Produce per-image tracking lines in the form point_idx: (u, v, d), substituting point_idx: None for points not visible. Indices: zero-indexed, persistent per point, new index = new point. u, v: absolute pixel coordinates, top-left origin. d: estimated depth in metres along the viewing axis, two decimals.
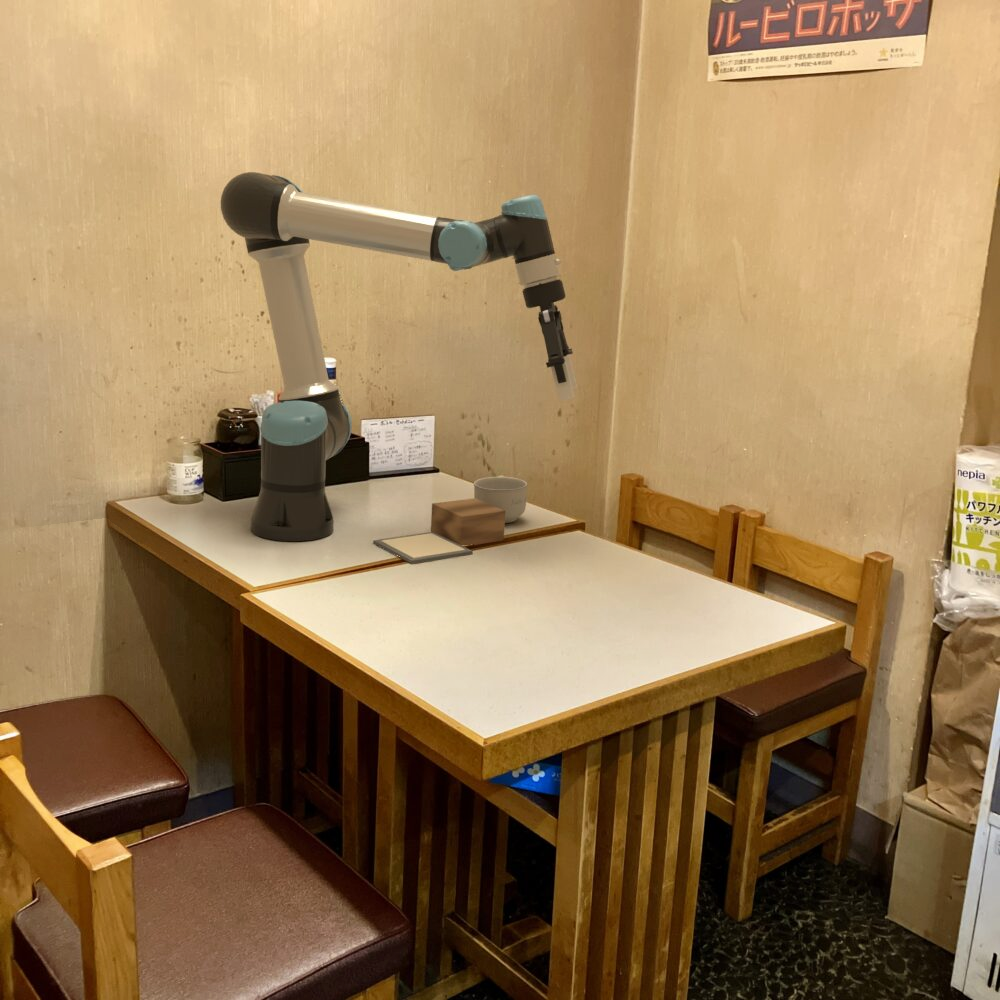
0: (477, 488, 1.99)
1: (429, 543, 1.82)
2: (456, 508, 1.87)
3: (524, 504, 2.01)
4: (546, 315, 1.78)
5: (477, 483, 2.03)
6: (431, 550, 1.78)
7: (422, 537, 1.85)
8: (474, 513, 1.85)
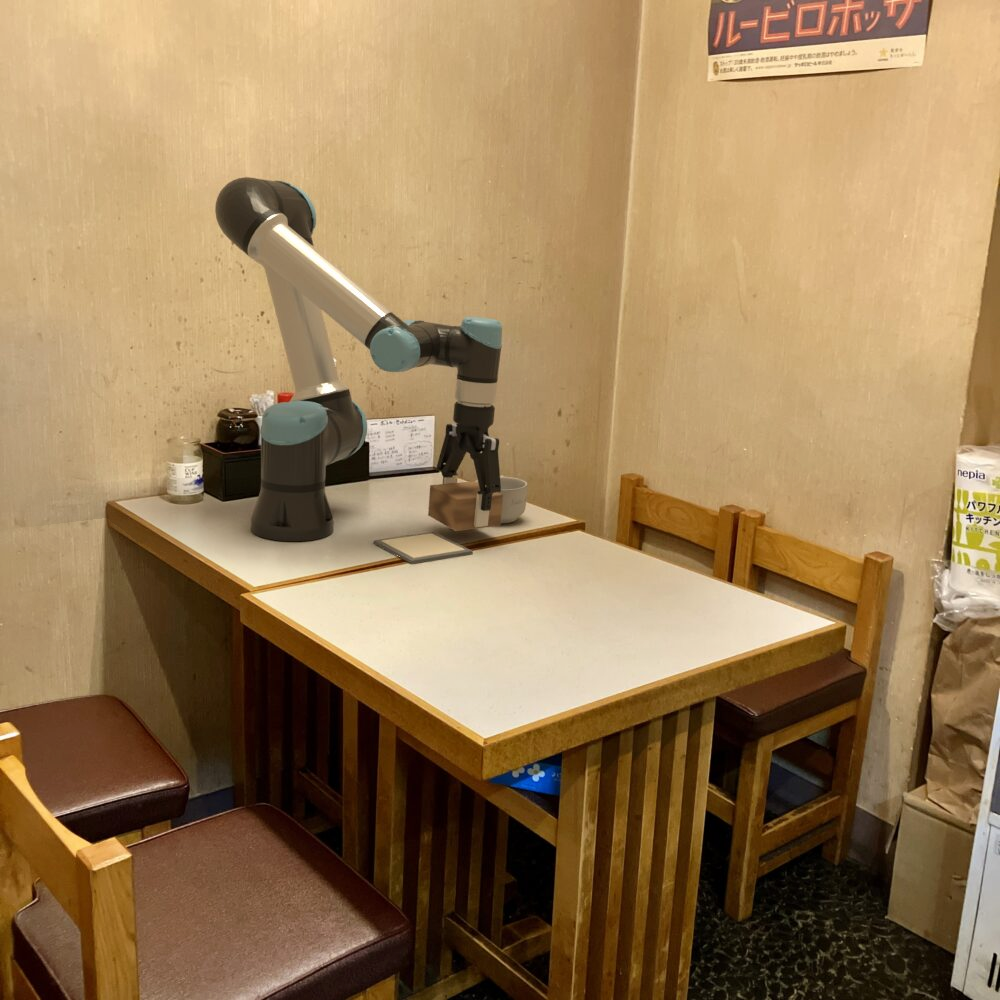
0: None
1: (429, 543, 1.82)
2: (453, 491, 1.87)
3: (524, 504, 2.01)
4: (493, 444, 1.81)
5: None
6: (431, 550, 1.78)
7: (422, 537, 1.85)
8: (470, 497, 1.84)
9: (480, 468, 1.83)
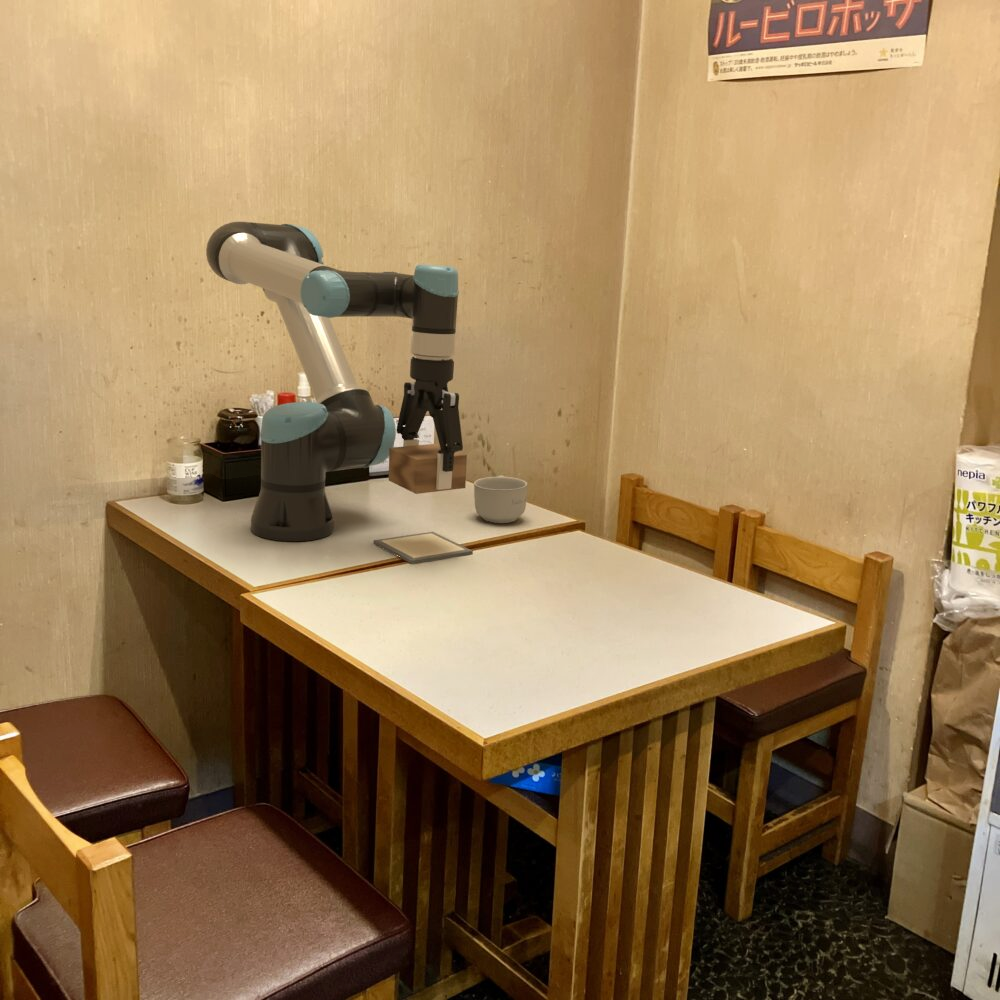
0: (477, 488, 1.99)
1: (429, 543, 1.82)
2: (413, 452, 1.75)
3: (524, 504, 2.01)
4: (453, 399, 1.69)
5: (477, 483, 2.03)
6: (431, 550, 1.78)
7: (422, 537, 1.85)
8: (431, 457, 1.72)
9: (440, 426, 1.71)
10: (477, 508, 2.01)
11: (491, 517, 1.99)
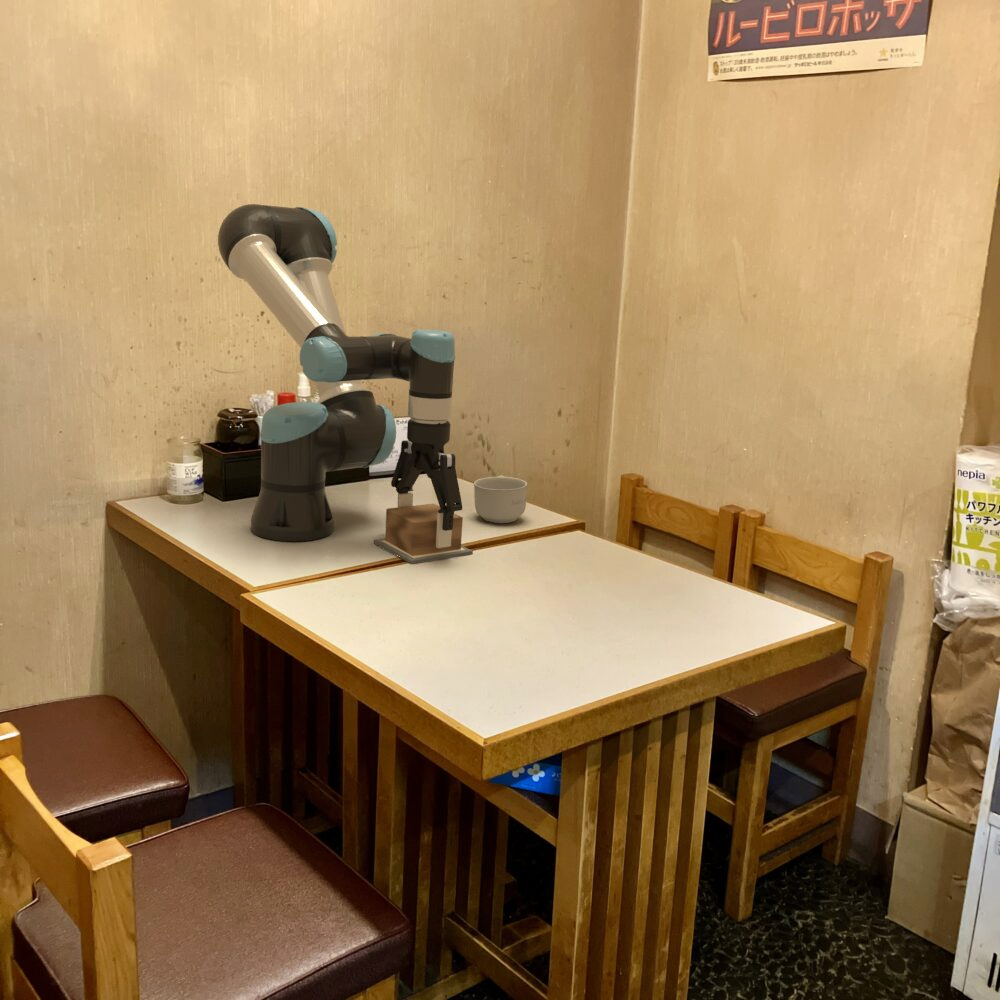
0: (477, 488, 1.99)
1: None
2: (410, 514, 1.78)
3: (524, 504, 2.01)
4: (449, 459, 1.71)
5: (477, 483, 2.03)
6: None
7: None
8: (427, 520, 1.75)
9: (439, 486, 1.73)
10: (477, 508, 2.01)
11: (491, 517, 1.99)
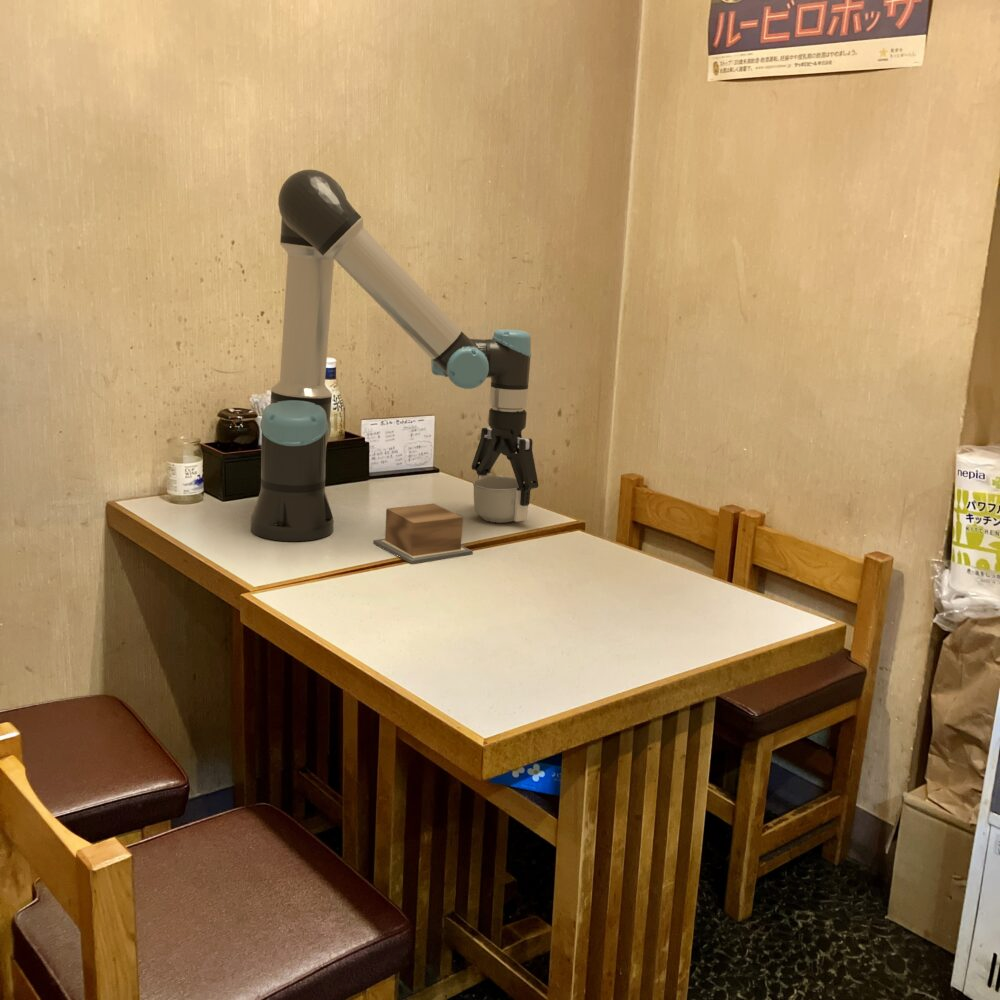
0: (476, 488, 1.99)
1: None
2: (410, 514, 1.78)
3: None
4: (527, 443, 1.95)
5: (476, 483, 2.03)
6: None
7: None
8: (427, 520, 1.75)
9: (517, 467, 1.97)
10: (476, 508, 2.01)
11: (490, 516, 1.99)
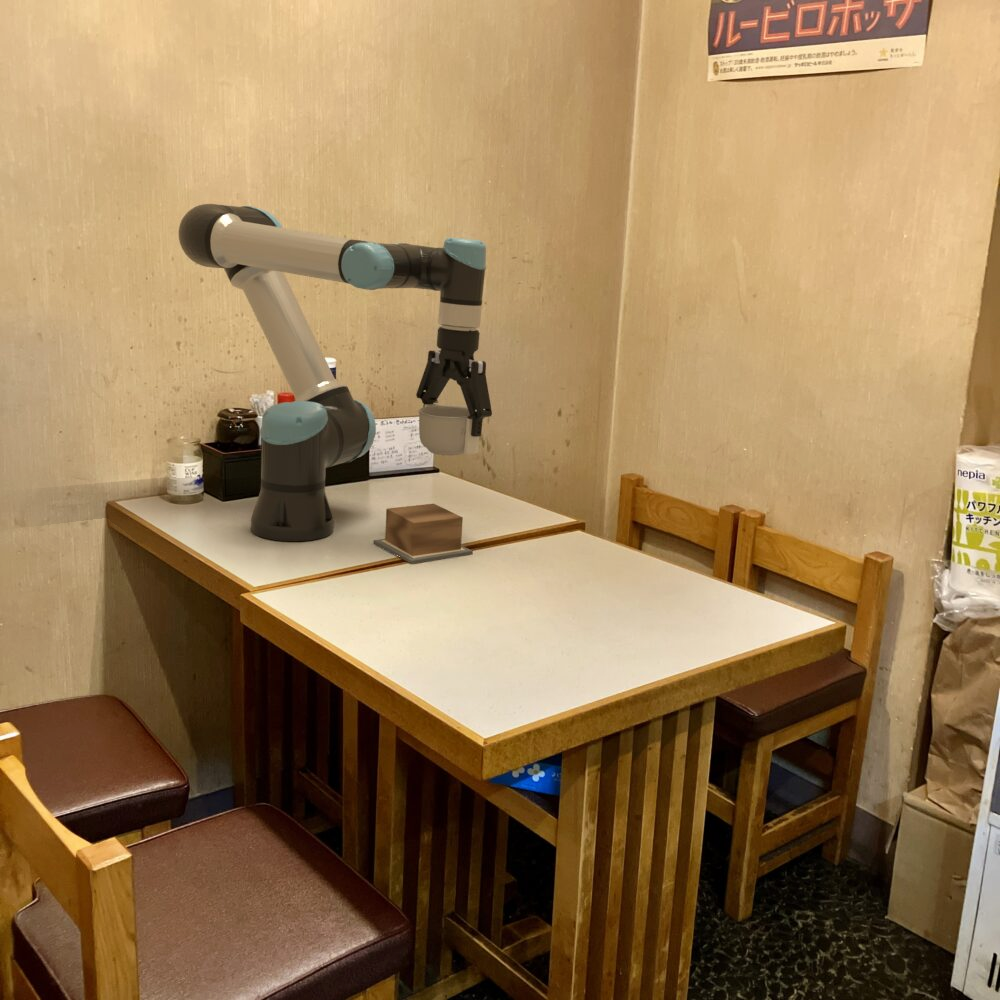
0: (423, 416, 1.78)
1: None
2: (410, 514, 1.78)
3: None
4: (480, 366, 1.75)
5: (422, 411, 1.82)
6: None
7: None
8: (427, 520, 1.75)
9: (468, 393, 1.77)
10: (422, 438, 1.80)
11: (438, 448, 1.78)
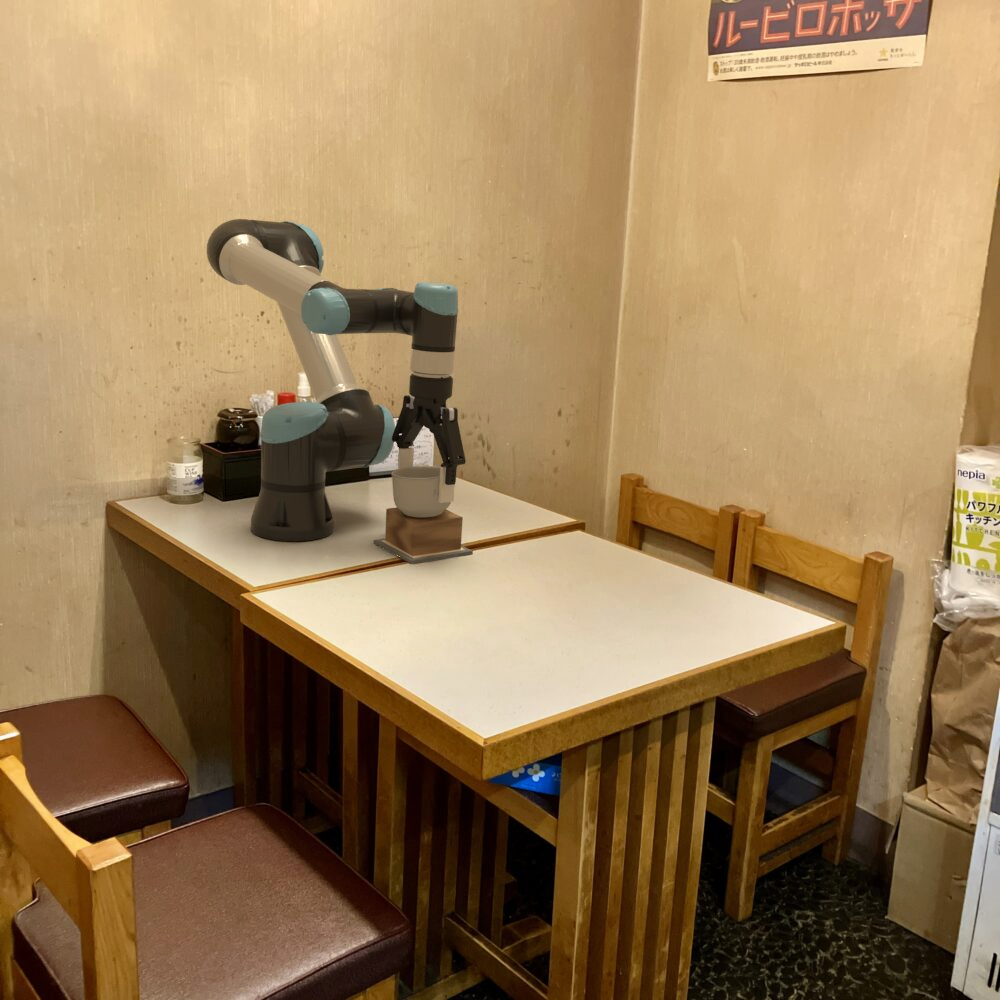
0: (394, 478, 1.74)
1: None
2: None
3: None
4: (451, 413, 1.70)
5: (396, 473, 1.78)
6: None
7: None
8: (427, 520, 1.75)
9: (441, 440, 1.71)
10: (395, 501, 1.75)
11: (411, 510, 1.73)
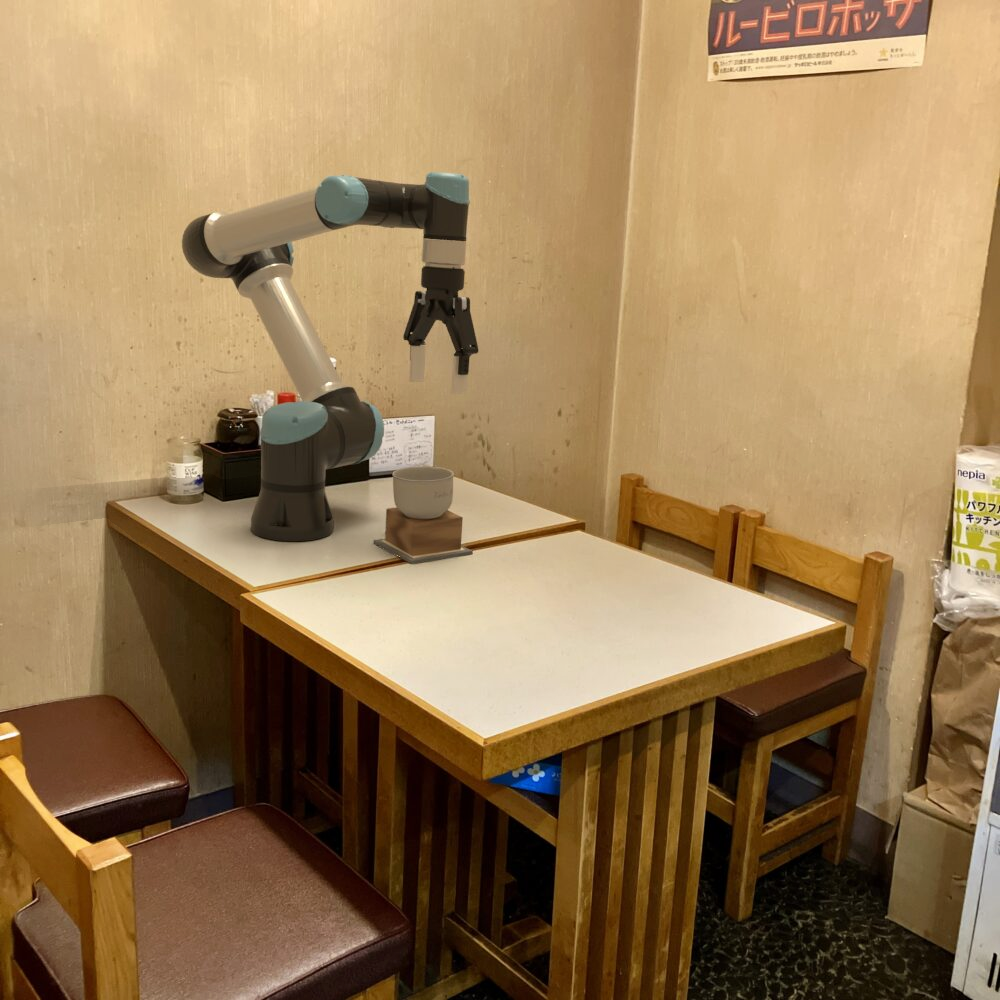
0: (395, 479, 1.74)
1: None
2: None
3: (450, 497, 1.75)
4: (464, 302, 1.70)
5: (397, 473, 1.78)
6: None
7: None
8: (427, 520, 1.75)
9: (454, 330, 1.72)
10: (396, 502, 1.75)
11: (411, 512, 1.73)
